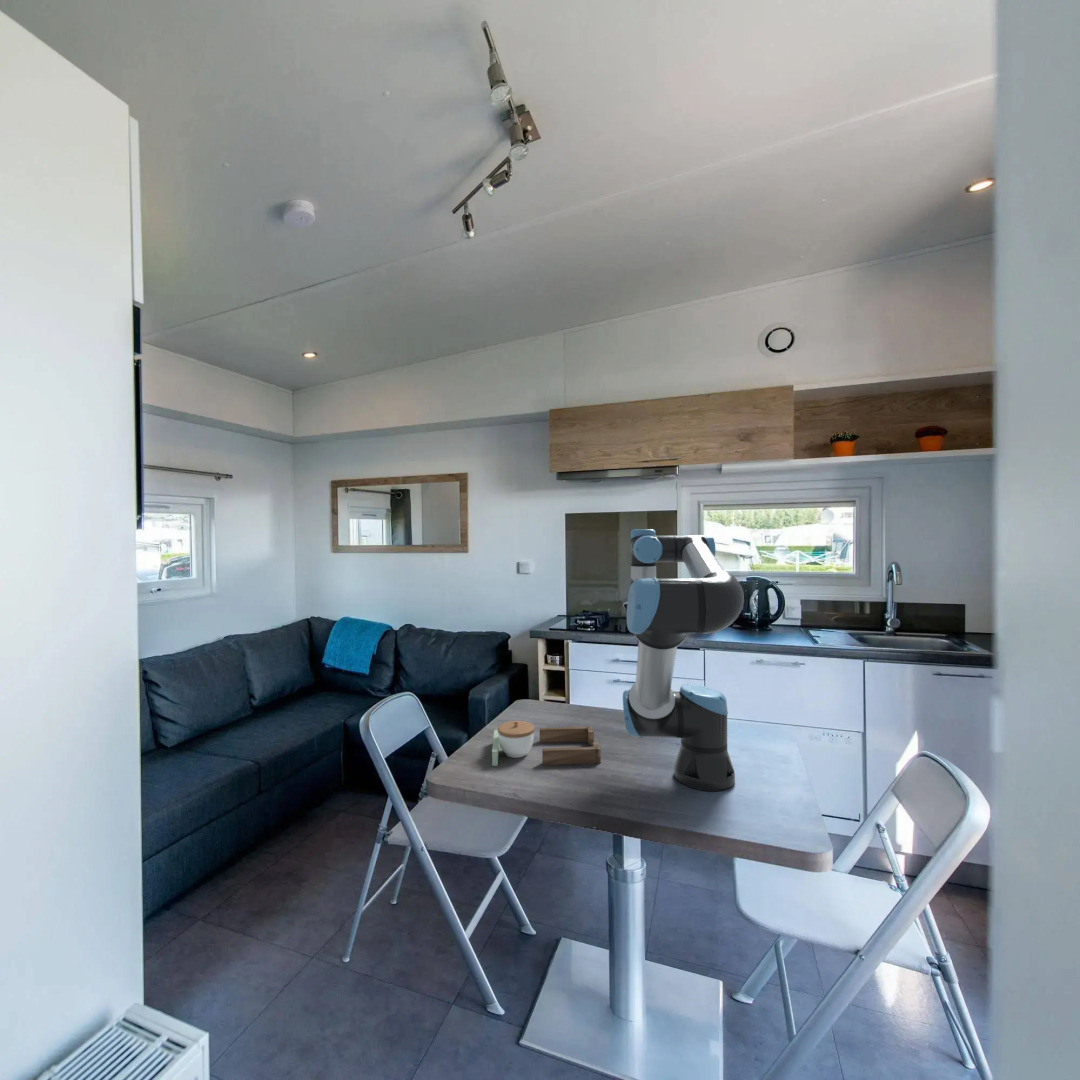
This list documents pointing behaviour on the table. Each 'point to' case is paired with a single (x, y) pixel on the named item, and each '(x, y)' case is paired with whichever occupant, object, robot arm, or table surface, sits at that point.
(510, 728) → the lidded jar
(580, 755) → the cradle
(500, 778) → the table surface
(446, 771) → the table surface
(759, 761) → the table surface
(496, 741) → the rail
